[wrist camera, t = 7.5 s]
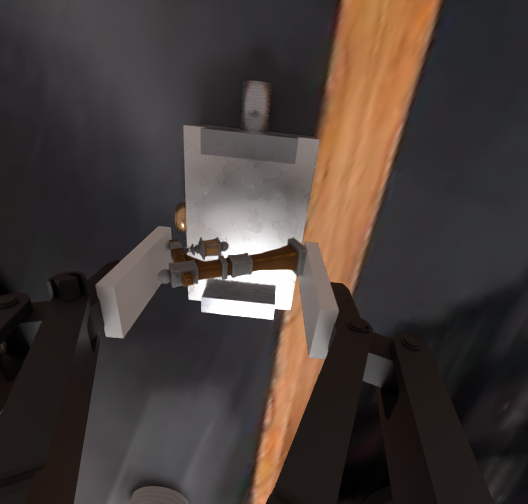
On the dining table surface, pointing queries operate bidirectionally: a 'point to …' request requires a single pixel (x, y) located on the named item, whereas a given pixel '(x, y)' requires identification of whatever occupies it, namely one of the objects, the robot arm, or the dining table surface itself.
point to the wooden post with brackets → (228, 262)
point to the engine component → (157, 496)
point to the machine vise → (246, 202)
